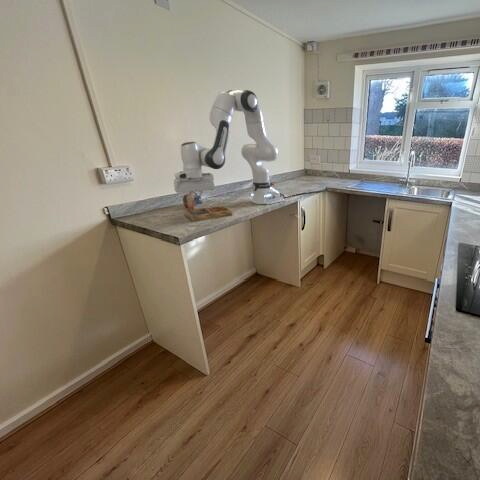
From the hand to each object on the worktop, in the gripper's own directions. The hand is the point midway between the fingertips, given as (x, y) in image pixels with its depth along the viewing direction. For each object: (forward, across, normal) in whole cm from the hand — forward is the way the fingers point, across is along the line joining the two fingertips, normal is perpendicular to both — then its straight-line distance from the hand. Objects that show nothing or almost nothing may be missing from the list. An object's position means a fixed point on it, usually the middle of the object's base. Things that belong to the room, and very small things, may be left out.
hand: (196, 199), depth 145 cm
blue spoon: (+2, 0, 0) cm, 2 cm away
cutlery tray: (+10, -5, 0) cm, 12 cm away
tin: (+10, -2, -27) cm, 29 cm away
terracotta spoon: (+10, +1, -14) cm, 17 cm away
